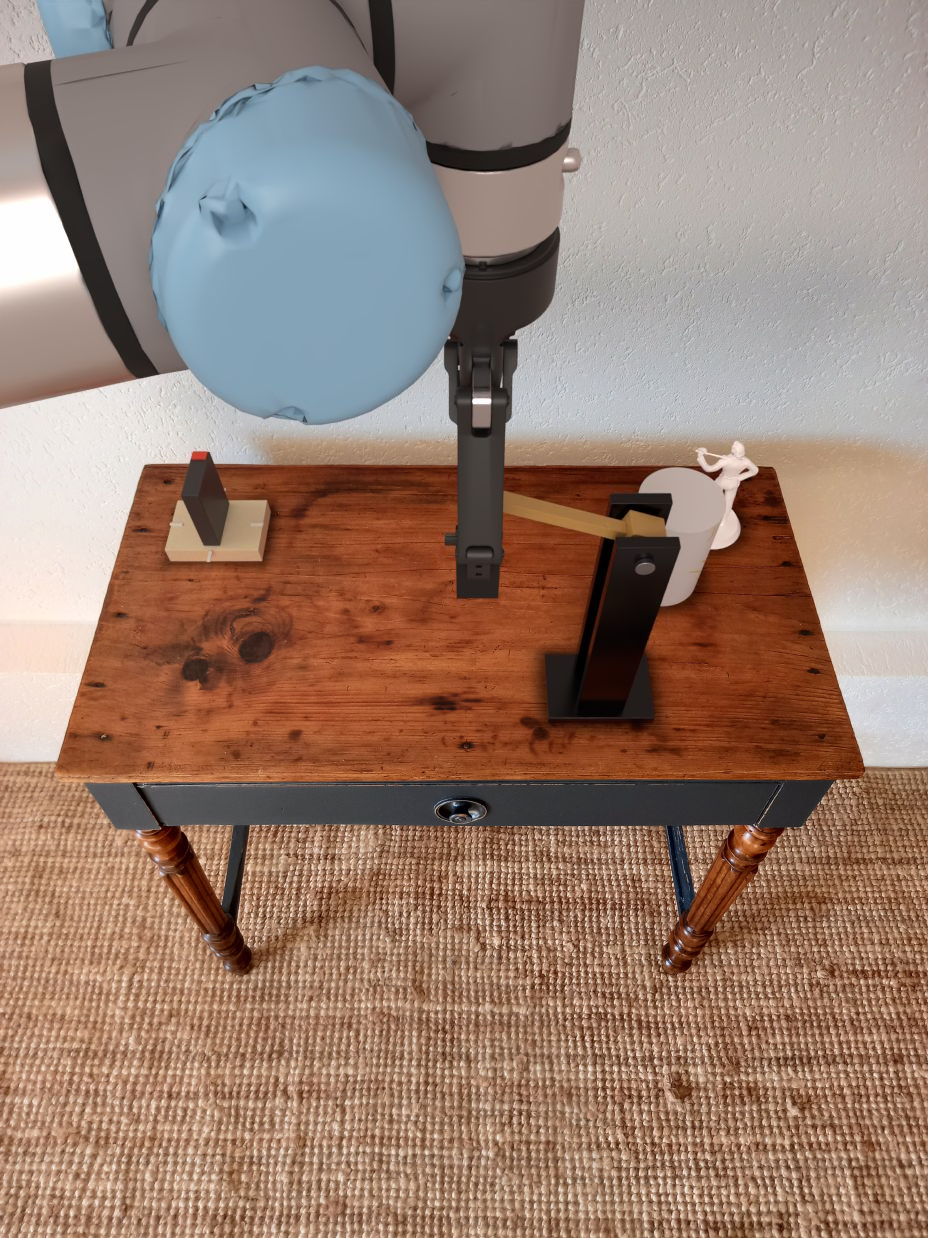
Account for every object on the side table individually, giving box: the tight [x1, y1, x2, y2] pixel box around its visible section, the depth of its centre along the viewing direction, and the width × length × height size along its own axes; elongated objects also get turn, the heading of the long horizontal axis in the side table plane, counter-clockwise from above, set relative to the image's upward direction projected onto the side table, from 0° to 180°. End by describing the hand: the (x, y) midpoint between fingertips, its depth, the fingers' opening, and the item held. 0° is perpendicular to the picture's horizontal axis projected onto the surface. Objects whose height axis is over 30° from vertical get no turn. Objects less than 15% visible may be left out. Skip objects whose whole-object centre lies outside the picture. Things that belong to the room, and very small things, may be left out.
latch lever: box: [503, 490, 667, 540], centre depth 56 cm, size 14×5×2 cm, turn 90°
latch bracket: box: [543, 492, 681, 724], centre depth 67 cm, size 10×7×26 cm
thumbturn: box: [180, 450, 229, 546], centre depth 84 cm, size 6×2×8 cm, turn 179°
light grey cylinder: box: [638, 466, 726, 607], centre depth 80 cm, size 8×8×12 cm
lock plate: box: [164, 487, 272, 563], centre depth 88 cm, size 10×10×2 cm
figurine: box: [694, 440, 759, 550], centre depth 84 cm, size 7×7×12 cm
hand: (477, 514), depth 56 cm, fingers open, 13 cm apart
